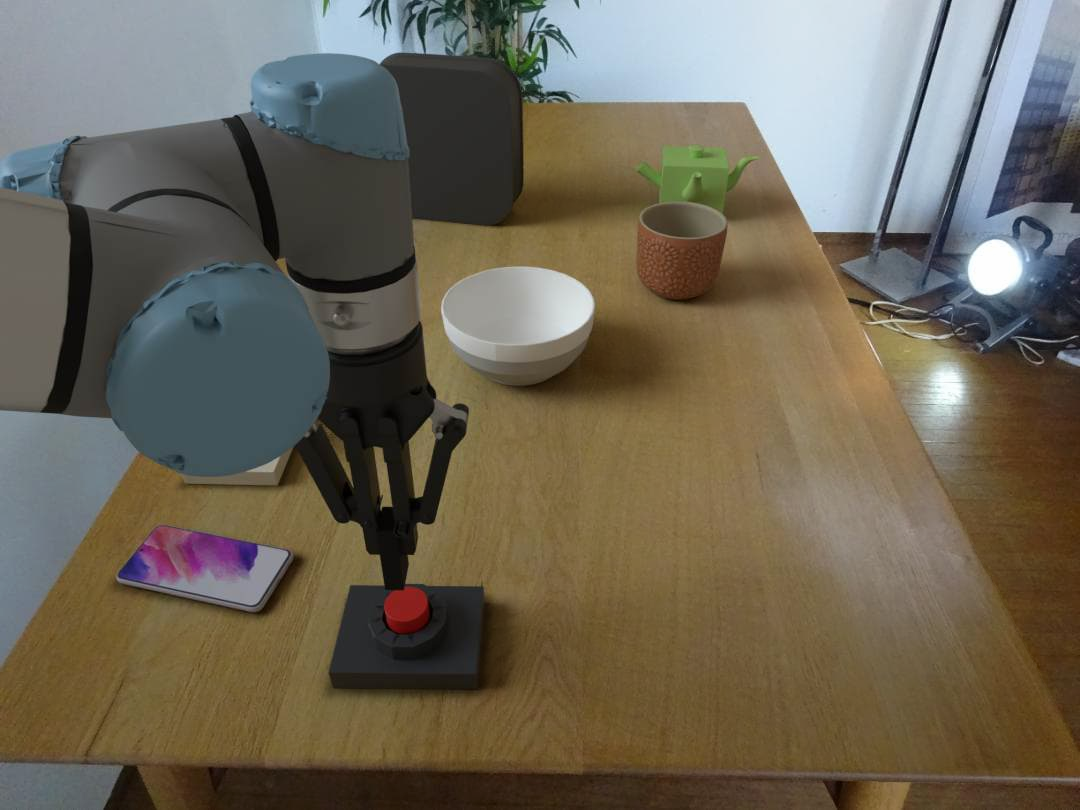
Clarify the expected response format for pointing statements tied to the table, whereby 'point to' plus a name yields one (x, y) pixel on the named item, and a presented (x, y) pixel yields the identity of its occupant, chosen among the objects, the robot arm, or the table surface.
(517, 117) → the speaker
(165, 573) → the smartphone
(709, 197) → the kettle
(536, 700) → the table surface
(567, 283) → the bowl
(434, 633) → the switch box
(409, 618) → the power button
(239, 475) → the panel
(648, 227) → the planter
